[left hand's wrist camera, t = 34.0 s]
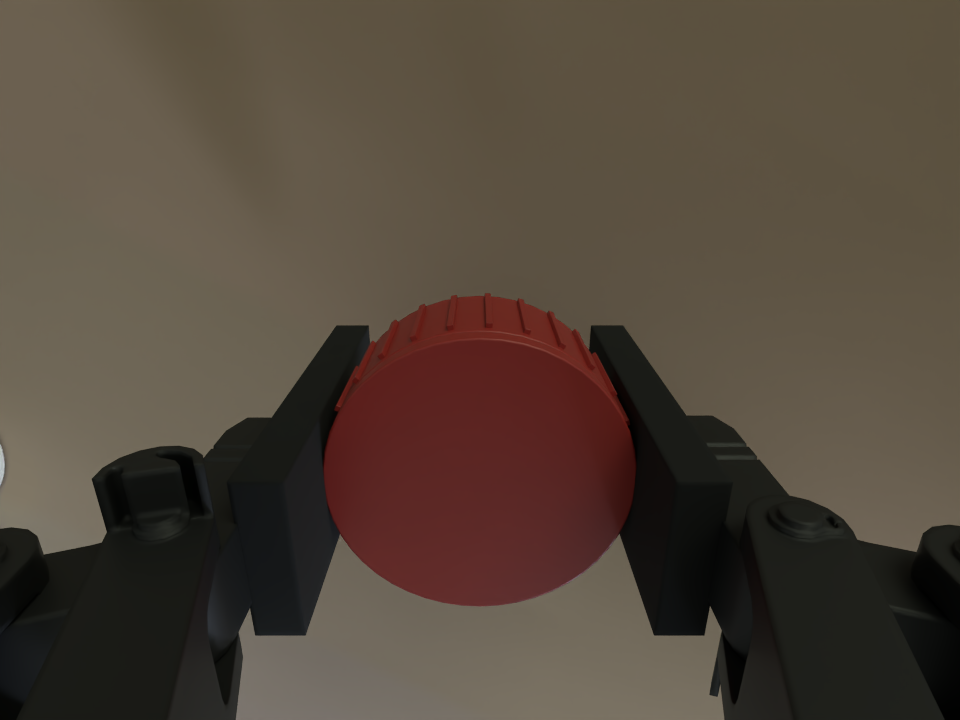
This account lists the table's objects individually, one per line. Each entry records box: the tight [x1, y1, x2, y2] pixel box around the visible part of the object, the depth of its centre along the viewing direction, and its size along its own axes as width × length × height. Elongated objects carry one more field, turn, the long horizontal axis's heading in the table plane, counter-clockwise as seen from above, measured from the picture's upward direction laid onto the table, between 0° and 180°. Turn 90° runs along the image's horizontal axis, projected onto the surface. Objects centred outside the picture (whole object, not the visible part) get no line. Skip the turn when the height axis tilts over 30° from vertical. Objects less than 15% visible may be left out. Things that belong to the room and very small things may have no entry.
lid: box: [323, 293, 637, 606], centre depth 11 cm, size 5×6×2 cm
